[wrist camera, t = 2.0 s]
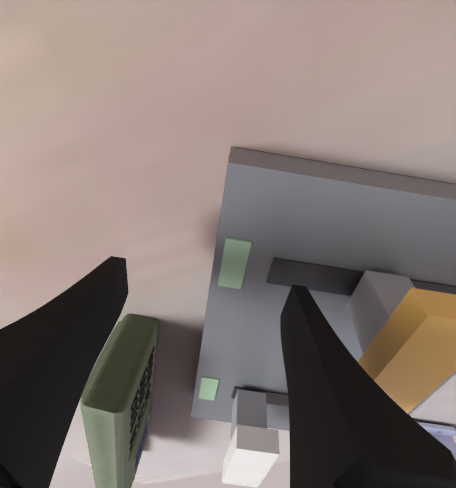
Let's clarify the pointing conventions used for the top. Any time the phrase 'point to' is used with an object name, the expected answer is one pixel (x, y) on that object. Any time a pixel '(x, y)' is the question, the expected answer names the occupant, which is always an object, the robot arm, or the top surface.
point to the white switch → (250, 441)
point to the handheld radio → (120, 401)
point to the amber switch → (404, 335)
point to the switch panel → (308, 263)
